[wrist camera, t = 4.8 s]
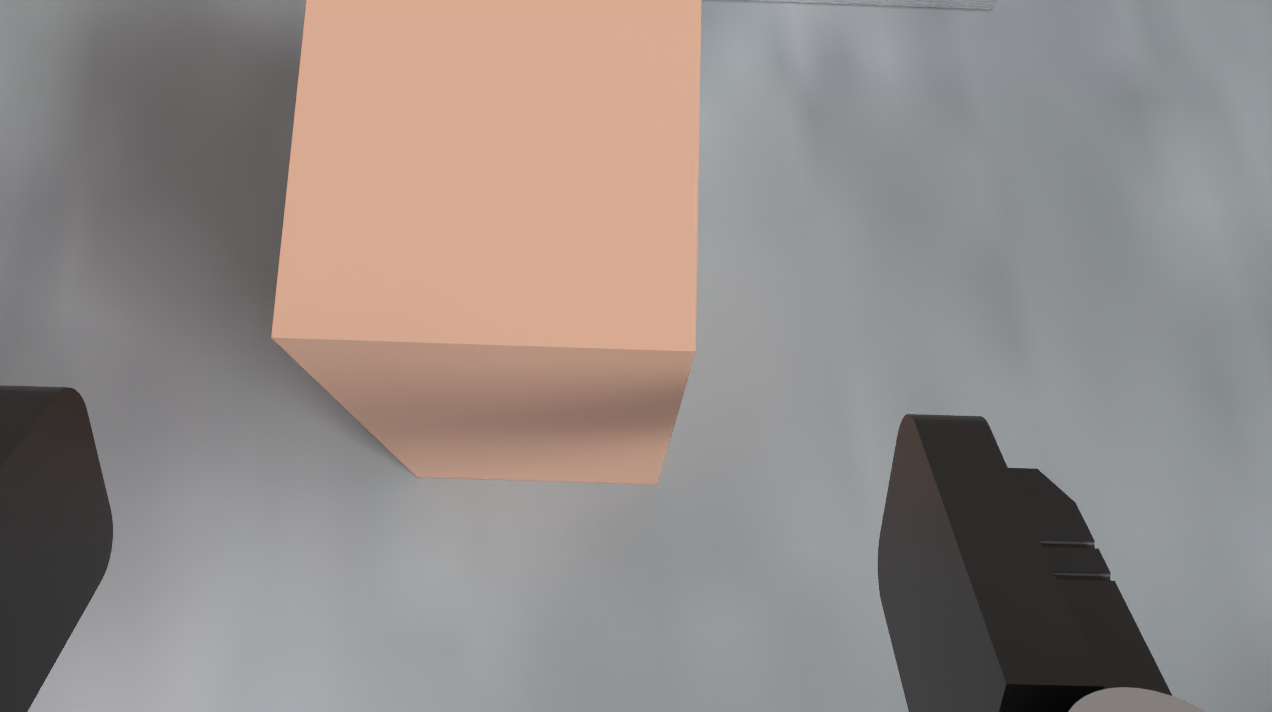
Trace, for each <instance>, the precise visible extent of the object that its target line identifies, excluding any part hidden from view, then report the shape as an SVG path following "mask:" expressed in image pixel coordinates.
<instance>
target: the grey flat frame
mask: <svg viewBox="0 0 1272 712" xmlns="http://www.w3.org/2000/svg"><path fill="white" fill-rule="evenodd" d="M749 1H776V2H803V3H830V4H857V5H883V6H910V7H937V8H964V9H991V10H992V9H993V7H994V5H995V4H996V2H997V0H749Z"/></svg>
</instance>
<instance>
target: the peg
mask: <svg viewBox="0 0 1272 712" xmlns="http://www.w3.org/2000/svg"><path fill="white" fill-rule="evenodd" d="M700 49H701V0H306V10H305V20H304V29H303V39H302V48H301V58H300V67H299V77H298V86H297V96H296V105H295V115H294V125H293V134H292V144H291V153H290V163H289V172H288V182H287V191H286V201H285V211H284V220H283V230H282V239H281V249H280V258H279V268H278V277H277V287H276V296H275V306H274V316H273V325H272V335H271V338H272V339H273V340H274V341H275V342H276V343H277V344H278V345H279V346H280V347H281V348H283V349H284V350H285V351H286V352H287V353H288V354H289V355H290V356H291V357H292V358H293V359H294V360H295V361H296V362H297V363H298V364H299V365H300V366H301V367H302V368H303V369H304V370H306V371H307V372H308V373H309V374H310V375H311V376H312V377H313V378H314V379H315V380H316V381H317V382H318V383H319V384H320V385H321V386H322V387H323V388H324V389H325V390H326V391H327V392H329V393H330V394H331V395H332V396H333V397H334V398H335V399H336V400H337V401H338V402H339V403H340V404H341V405H342V406H343V407H344V408H345V409H346V410H347V411H348V412H349V413H350V414H352V415H353V416H354V417H355V418H356V419H357V420H358V421H359V422H360V423H361V424H362V425H363V426H364V427H365V428H366V429H367V430H368V431H369V432H370V433H371V434H372V435H373V436H375V437H376V438H377V439H378V440H379V441H380V442H381V443H382V444H383V445H384V446H385V447H386V448H387V449H388V450H389V451H390V452H391V453H392V454H393V455H394V456H395V457H396V458H398V459H399V460H400V461H401V462H402V463H403V464H404V465H405V466H406V467H407V468H408V469H409V470H410V471H411V472H412V473H413V474H414V475H415V476H416V477H430V478H462V479H495V480H527V481H559V482H592V483H624V484H658V480H659V477H660V473H661V470H662V466H663V463H664V460H665V456H666V453H667V449H668V446H669V442H670V439H671V435H672V432H673V428H674V425H675V421H676V418H677V414H678V411H679V407H680V404H681V400H682V397H683V394H684V390H685V387H686V383H687V380H688V376H689V373H690V369H691V366H692V362H693V359H694V355H695V352H696V296H697V234H698V172H699V110H700Z"/></svg>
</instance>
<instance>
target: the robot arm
mask: <svg viewBox="0 0 1272 712" xmlns="http://www.w3.org/2000/svg"><path fill="white" fill-rule="evenodd" d="M112 540H113V522H112V514H111V509H110V505H109V501H108V496H107V492H106V488H105V484H104V480H103V475H102V471H101V467H100V463H99V459H98V455H97V450H96V446H95V442H94V438H93V434H92V429H91V425H90V421H89V417H88V413H87V409H86V406H85V403H84V401H83V398H82V397H81V395H80V394H79V393H78V392H77V391H76V390H75V389H73V388H67V387H34V386H0V712H27V711H28V709H29V708H30V706H31V704H32V702H33V701H34V699H35V697H36V695H37V694H38V692H39V690H40V688H41V686H42V685H43V683H44V681H45V679H46V678H47V676H48V674H49V672H50V671H51V669H52V667H53V665H54V663H55V662H56V660H57V658H58V656H59V655H60V653H61V651H62V649H63V648H64V646H65V644H66V642H67V640H68V639H69V637H70V635H71V633H72V632H73V630H74V628H75V626H76V625H77V623H78V621H79V619H80V618H81V616H82V614H83V612H84V610H85V609H86V607H87V605H88V603H89V602H90V600H91V598H92V596H93V595H94V593H95V591H96V589H97V587H98V586H99V584H100V582H101V580H102V578H103V576H104V574H105V572H106V569H107V566H108V563H109V559H110V554H111V549H112ZM1094 542H1095V541H1094V539H1093V537H1092V535H1091V533H1090V531H1089V529H1088V527H1087V525H1086V523H1085V521H1084V519H1083V517H1082V515H1081V513H1080V511H1079V509H1078V507H1077V505H1076V503H1075V502H1074V501H1073V500H1072V499H1071V498H1069V497H1068V496H1067V495H1066V494H1065V493H1064V492H1063V491H1062V490H1060V489H1059V488H1058V487H1057V486H1056V485H1055V484H1054V483H1053V482H1051V481H1050V480H1049V479H1048V478H1047V477H1046V476H1045V475H1044V474H1042V473H1041V472H1040V471H1039V470H1038V469H1026V468H1007V465H1006V463H1005V461H1004V459H1003V456H1002V454H1001V452H1000V450H999V447H998V445H997V443H996V440H995V438H994V436H993V434H992V431H991V429H990V427H989V425H988V423H987V421H986V420H985V419H984V418H983V417H981V416H949V415H915V414H907V415H905V416H904V418H903V419H902V422H901V424H900V427H899V431H898V436H897V441H896V447H895V453H894V458H893V464H892V470H891V475H890V481H889V487H888V492H887V498H886V504H885V509H884V515H883V521H882V526H881V532H880V538H879V548H878V580H879V590H880V597H881V602H882V606H883V610H884V614H885V618H886V622H887V626H888V630H889V634H890V638H891V642H892V646H893V650H894V654H895V658H896V662H897V666H898V670H899V674H900V678H901V682H902V686H903V690H904V694H905V698H906V702H907V706H908V710H909V712H1204V711H1203V710H1201V709H1199V708H1197V707H1195V706H1193V705H1191V704H1189V703H1188V702H1185V701H1183V700H1180V699H1178V698H1176V697H1173V696H1172V694H1171V692H1170V690H1169V688H1168V686H1167V684H1166V682H1165V680H1164V678H1163V676H1162V674H1161V672H1160V670H1159V668H1158V666H1157V664H1156V662H1155V660H1154V658H1153V656H1152V654H1151V652H1150V650H1149V648H1148V646H1147V645H1146V643H1145V641H1144V639H1143V637H1142V635H1141V633H1140V631H1139V629H1138V627H1137V625H1136V623H1135V621H1134V619H1133V617H1132V615H1131V613H1130V611H1129V609H1128V607H1127V605H1126V603H1125V601H1124V599H1123V597H1122V595H1121V593H1120V591H1119V589H1118V587H1117V585H1116V583H1115V581H1111V580H1110V571H1109V569H1108V567H1107V565H1106V563H1105V561H1104V559H1103V557H1102V555H1101V553H1100V551H1099V549H1095V547H1094Z"/></svg>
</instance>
